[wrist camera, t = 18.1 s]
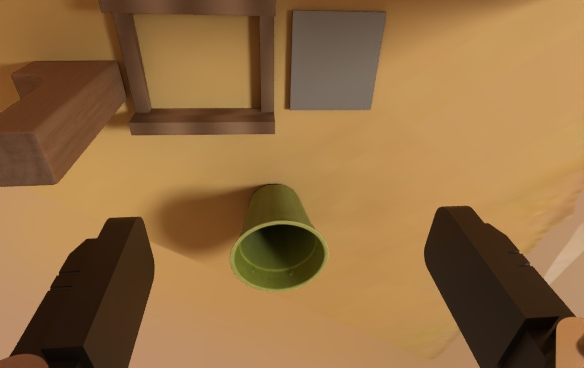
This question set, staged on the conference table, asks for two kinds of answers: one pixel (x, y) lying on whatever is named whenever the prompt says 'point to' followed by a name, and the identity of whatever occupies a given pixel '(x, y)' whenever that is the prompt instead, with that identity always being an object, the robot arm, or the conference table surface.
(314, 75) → the pad
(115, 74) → the wooden block
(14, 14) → the conference table surface
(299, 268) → the plant pot
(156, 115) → the wooden frame
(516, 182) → the conference table surface
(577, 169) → the conference table surface
